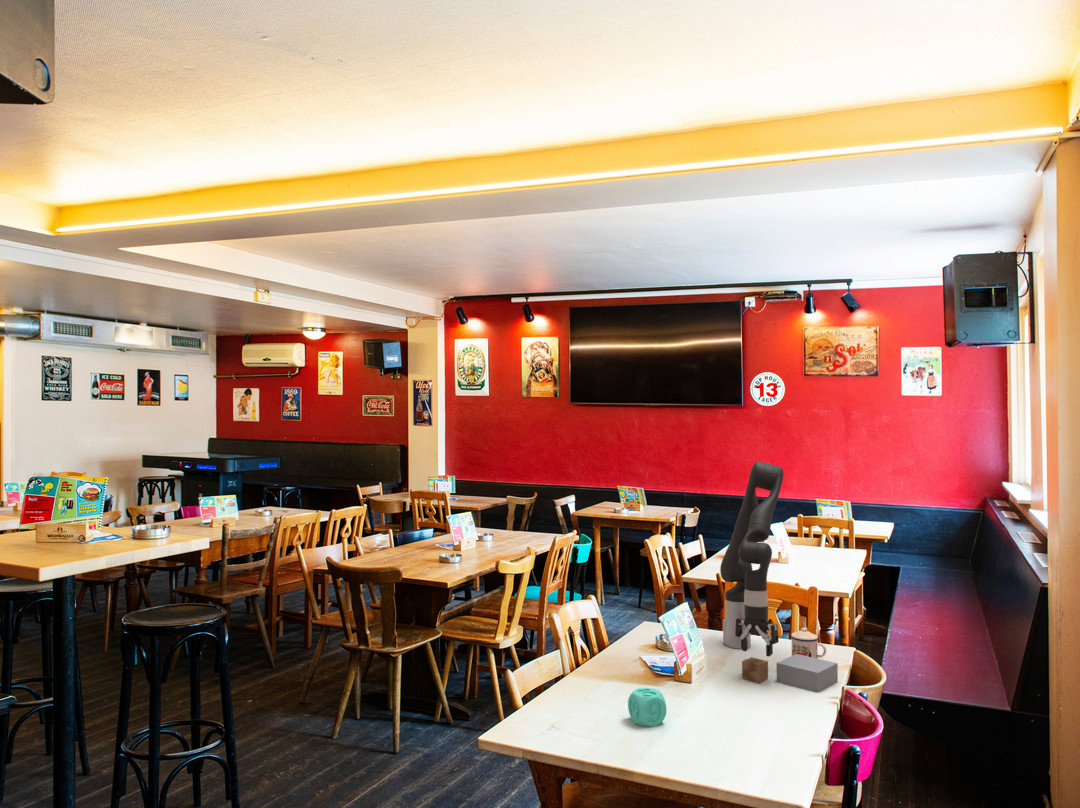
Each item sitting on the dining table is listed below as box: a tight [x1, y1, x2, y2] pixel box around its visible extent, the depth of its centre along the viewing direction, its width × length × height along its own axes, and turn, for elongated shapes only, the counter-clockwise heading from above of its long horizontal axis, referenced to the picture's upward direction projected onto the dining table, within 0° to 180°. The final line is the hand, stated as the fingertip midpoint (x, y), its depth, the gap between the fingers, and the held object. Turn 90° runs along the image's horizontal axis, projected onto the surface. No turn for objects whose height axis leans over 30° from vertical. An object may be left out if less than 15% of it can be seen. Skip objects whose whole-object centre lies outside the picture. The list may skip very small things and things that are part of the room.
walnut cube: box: [741, 656, 769, 684], centre depth 242 cm, size 6×6×6 cm
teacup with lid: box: [790, 627, 827, 659], centre depth 260 cm, size 12×9×12 cm
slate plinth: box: [775, 654, 839, 693], centre depth 240 cm, size 14×14×6 cm
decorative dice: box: [627, 687, 667, 728], centre depth 206 cm, size 8×8×8 cm
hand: (756, 653), depth 242 cm, fingers open, 8 cm apart
